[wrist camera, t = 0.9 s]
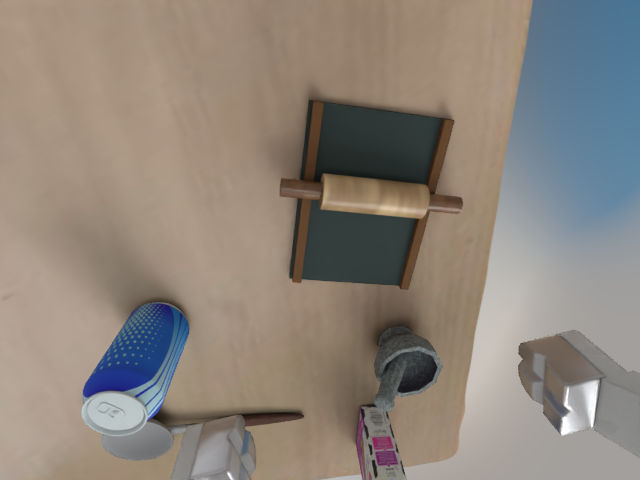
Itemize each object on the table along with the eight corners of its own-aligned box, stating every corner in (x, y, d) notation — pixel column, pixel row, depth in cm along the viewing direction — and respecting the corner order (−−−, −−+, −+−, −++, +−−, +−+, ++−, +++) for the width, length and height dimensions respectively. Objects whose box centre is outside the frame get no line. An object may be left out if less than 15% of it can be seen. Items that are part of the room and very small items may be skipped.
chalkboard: (309, 100, 41) (310, 100, 39) (452, 119, 43) (457, 121, 42) (289, 276, 50) (289, 282, 49) (407, 284, 53) (410, 290, 52)
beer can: (181, 292, 50) (138, 379, 35) (198, 338, 53) (167, 433, 39) (122, 303, 50) (56, 395, 35) (144, 348, 53) (92, 448, 39)
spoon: (100, 407, 56) (92, 425, 54) (303, 387, 61) (305, 403, 58) (117, 446, 62) (111, 464, 59) (303, 425, 66) (304, 441, 64)
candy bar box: (358, 405, 63) (380, 505, 48) (385, 403, 63) (416, 502, 48) (354, 446, 67) (374, 549, 53) (379, 444, 68) (406, 546, 53)
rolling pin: (281, 165, 43) (281, 173, 39) (455, 184, 46) (471, 194, 42) (278, 199, 45) (278, 210, 41) (446, 215, 48) (461, 227, 44)
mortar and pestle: (425, 312, 56) (459, 369, 45) (425, 356, 59) (457, 418, 49) (355, 325, 55) (373, 385, 44) (361, 368, 59) (378, 433, 48)
